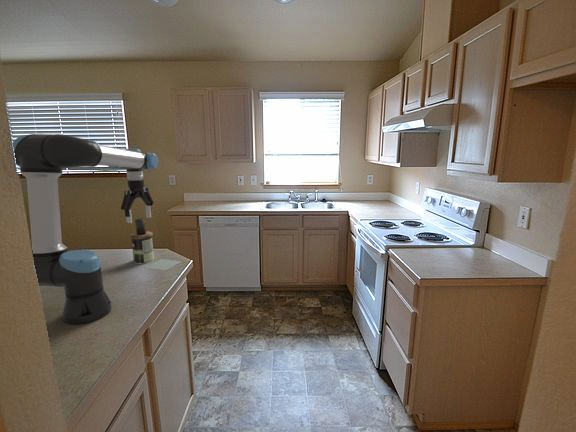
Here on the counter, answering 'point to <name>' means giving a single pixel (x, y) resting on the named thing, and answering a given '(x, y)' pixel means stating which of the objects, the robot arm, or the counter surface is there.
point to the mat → (163, 264)
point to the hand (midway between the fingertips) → (139, 220)
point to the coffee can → (142, 250)
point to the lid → (140, 230)
